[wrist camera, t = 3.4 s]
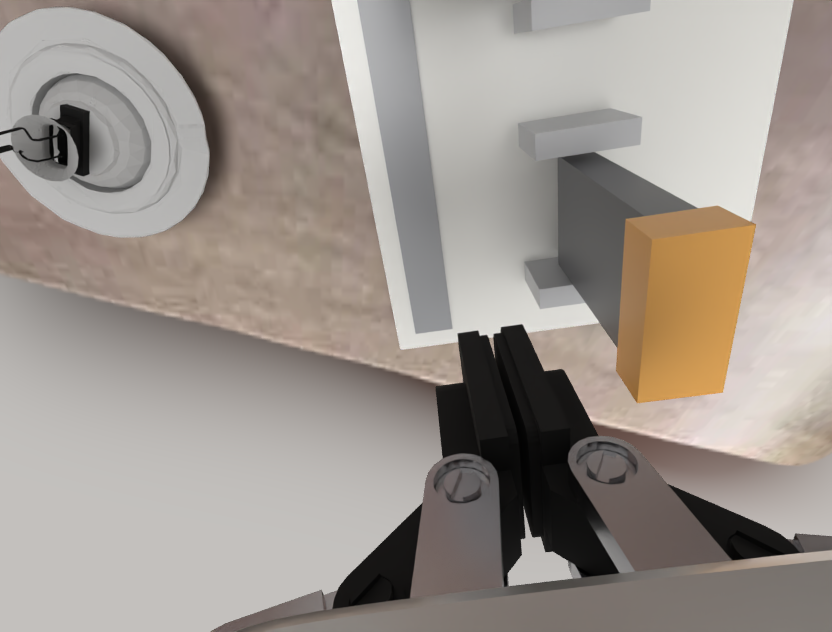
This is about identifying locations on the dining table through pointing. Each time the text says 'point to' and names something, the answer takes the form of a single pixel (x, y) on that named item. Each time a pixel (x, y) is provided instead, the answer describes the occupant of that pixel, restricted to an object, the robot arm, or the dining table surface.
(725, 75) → the box
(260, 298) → the dining table surface
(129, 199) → the gray round rimmed fixture
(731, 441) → the dining table surface
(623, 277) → the lever
